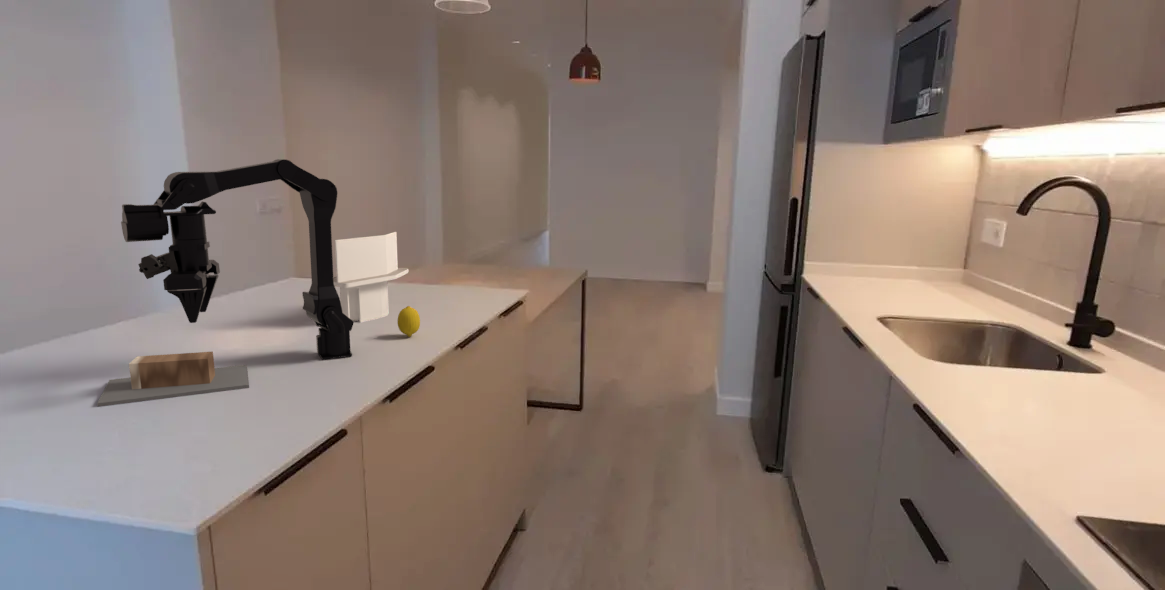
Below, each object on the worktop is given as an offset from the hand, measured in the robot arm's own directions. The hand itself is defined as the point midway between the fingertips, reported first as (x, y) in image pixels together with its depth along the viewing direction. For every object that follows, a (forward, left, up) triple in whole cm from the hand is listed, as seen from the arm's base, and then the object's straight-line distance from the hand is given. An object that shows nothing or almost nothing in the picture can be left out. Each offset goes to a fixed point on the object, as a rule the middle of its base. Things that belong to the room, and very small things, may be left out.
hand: (198, 317), depth 128 cm
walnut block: (-2, +3, -10) cm, 10 cm away
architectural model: (-39, -42, -13) cm, 59 cm away
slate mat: (+4, +2, -13) cm, 14 cm away
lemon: (-45, -16, -13) cm, 49 cm away
